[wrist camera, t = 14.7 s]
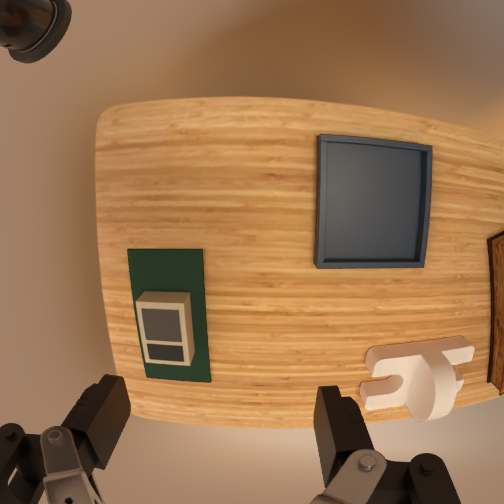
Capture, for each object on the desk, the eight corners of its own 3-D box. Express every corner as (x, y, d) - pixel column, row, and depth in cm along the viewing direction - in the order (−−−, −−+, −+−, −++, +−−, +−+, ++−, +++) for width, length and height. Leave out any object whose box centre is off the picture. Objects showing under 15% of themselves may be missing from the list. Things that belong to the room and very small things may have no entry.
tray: (317, 135, 35) (320, 133, 33) (424, 146, 35) (432, 145, 33) (313, 263, 39) (316, 268, 37) (417, 263, 39) (424, 267, 37)
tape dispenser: (450, 381, 44) (478, 418, 34) (358, 396, 45) (376, 444, 34) (465, 334, 42) (500, 368, 31) (368, 346, 42) (393, 392, 32)
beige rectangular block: (144, 290, 40) (134, 301, 37) (189, 292, 40) (183, 303, 37) (153, 348, 43) (145, 363, 39) (195, 351, 42) (190, 366, 39)
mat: (128, 248, 39) (127, 249, 39) (202, 249, 39) (202, 249, 39) (147, 376, 44) (146, 377, 44) (211, 381, 44) (210, 382, 44)
